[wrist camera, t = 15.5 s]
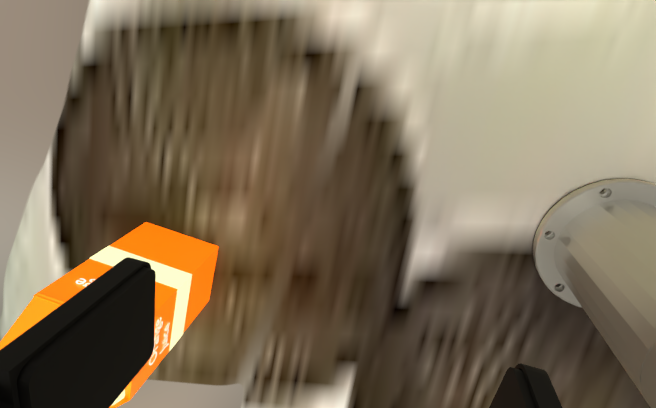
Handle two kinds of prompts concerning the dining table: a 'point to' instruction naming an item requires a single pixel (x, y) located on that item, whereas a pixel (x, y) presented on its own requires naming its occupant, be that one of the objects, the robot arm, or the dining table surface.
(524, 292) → the dining table surface
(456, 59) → the dining table surface
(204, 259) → the orange juice
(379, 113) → the dining table surface
